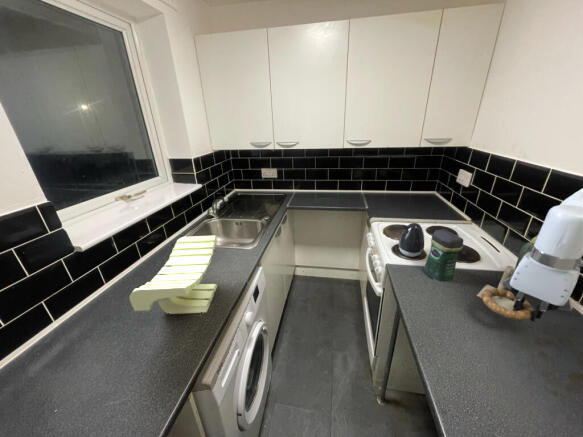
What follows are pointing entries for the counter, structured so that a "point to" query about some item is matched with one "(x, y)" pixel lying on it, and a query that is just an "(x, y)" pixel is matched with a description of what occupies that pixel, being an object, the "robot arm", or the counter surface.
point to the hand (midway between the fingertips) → (525, 314)
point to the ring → (517, 315)
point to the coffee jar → (443, 255)
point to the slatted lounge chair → (180, 279)
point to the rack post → (501, 300)
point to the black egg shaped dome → (412, 240)
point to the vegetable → (526, 250)
